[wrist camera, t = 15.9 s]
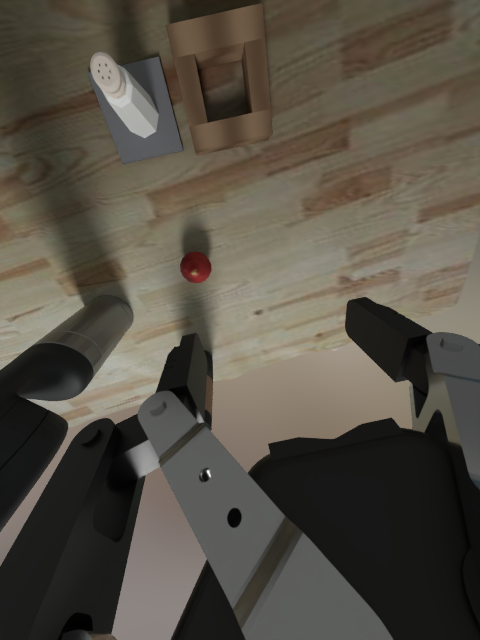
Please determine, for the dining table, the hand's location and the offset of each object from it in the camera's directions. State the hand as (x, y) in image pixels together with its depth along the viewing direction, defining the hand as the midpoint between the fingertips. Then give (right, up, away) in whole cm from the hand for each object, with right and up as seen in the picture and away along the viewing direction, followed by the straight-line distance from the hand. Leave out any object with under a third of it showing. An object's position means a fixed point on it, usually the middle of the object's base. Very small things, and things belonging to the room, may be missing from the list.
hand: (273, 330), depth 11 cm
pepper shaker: (-17, +31, +19) cm, 40 cm away
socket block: (-4, +34, +20) cm, 40 cm away
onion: (-11, +13, +31) cm, 35 cm away
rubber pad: (-17, +31, +20) cm, 41 cm away
